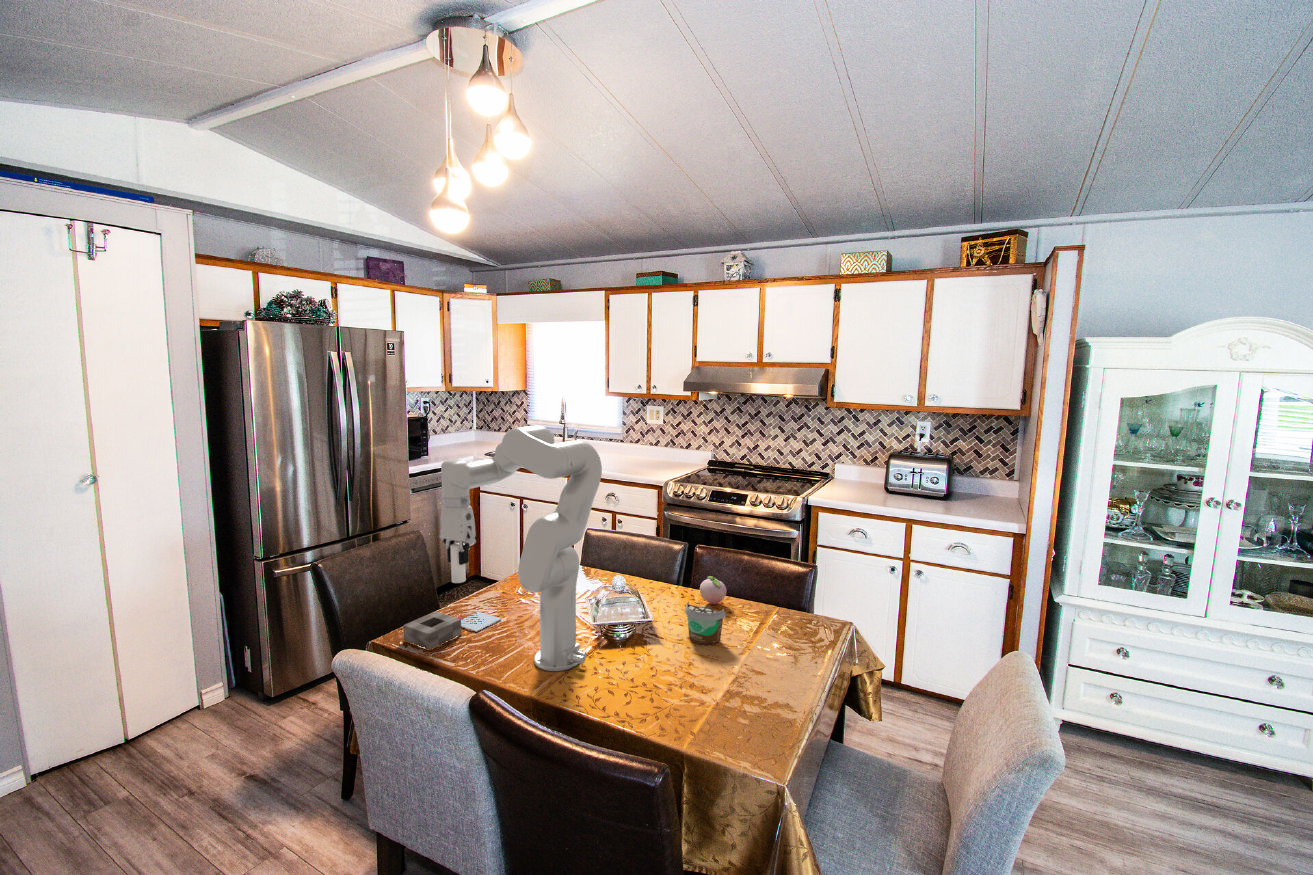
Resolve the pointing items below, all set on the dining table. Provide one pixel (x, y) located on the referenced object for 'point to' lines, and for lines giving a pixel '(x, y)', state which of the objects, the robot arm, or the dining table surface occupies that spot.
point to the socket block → (432, 630)
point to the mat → (487, 621)
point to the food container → (704, 624)
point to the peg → (457, 565)
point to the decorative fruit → (712, 590)
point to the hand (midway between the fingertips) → (458, 561)
